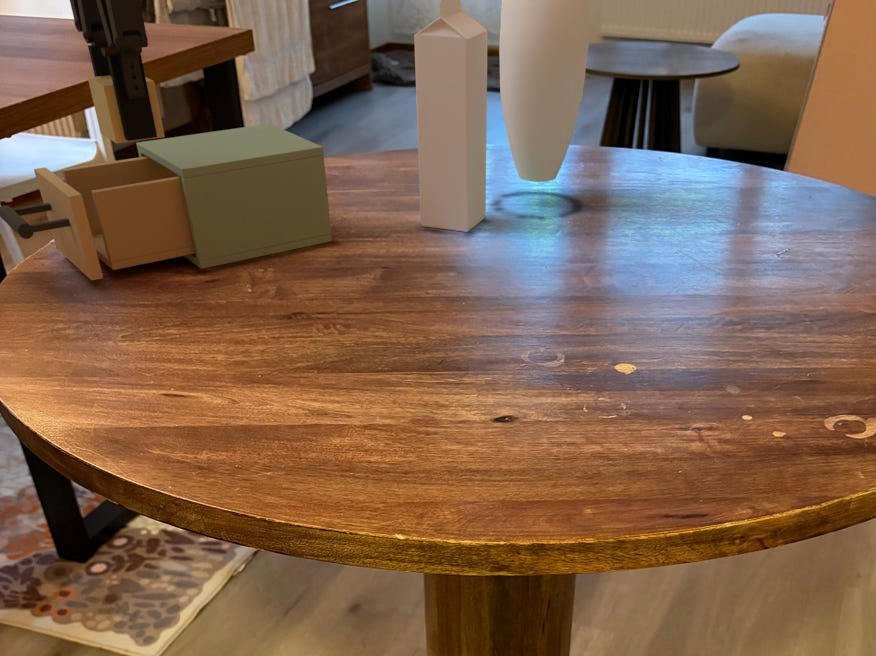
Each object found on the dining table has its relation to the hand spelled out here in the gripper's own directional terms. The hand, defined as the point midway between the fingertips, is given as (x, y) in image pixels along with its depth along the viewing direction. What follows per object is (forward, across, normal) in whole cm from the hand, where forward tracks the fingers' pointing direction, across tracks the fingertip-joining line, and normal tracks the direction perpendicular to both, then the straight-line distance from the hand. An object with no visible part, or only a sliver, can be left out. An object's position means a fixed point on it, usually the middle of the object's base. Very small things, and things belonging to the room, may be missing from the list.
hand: (131, 131), depth 84 cm
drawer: (+13, +7, +2) cm, 15 cm away
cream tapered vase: (+14, 0, -48) cm, 50 cm away
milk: (+14, 0, -35) cm, 38 cm away
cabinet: (+14, +8, -12) cm, 20 cm away
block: (0, 0, 0) cm, 0 cm away
